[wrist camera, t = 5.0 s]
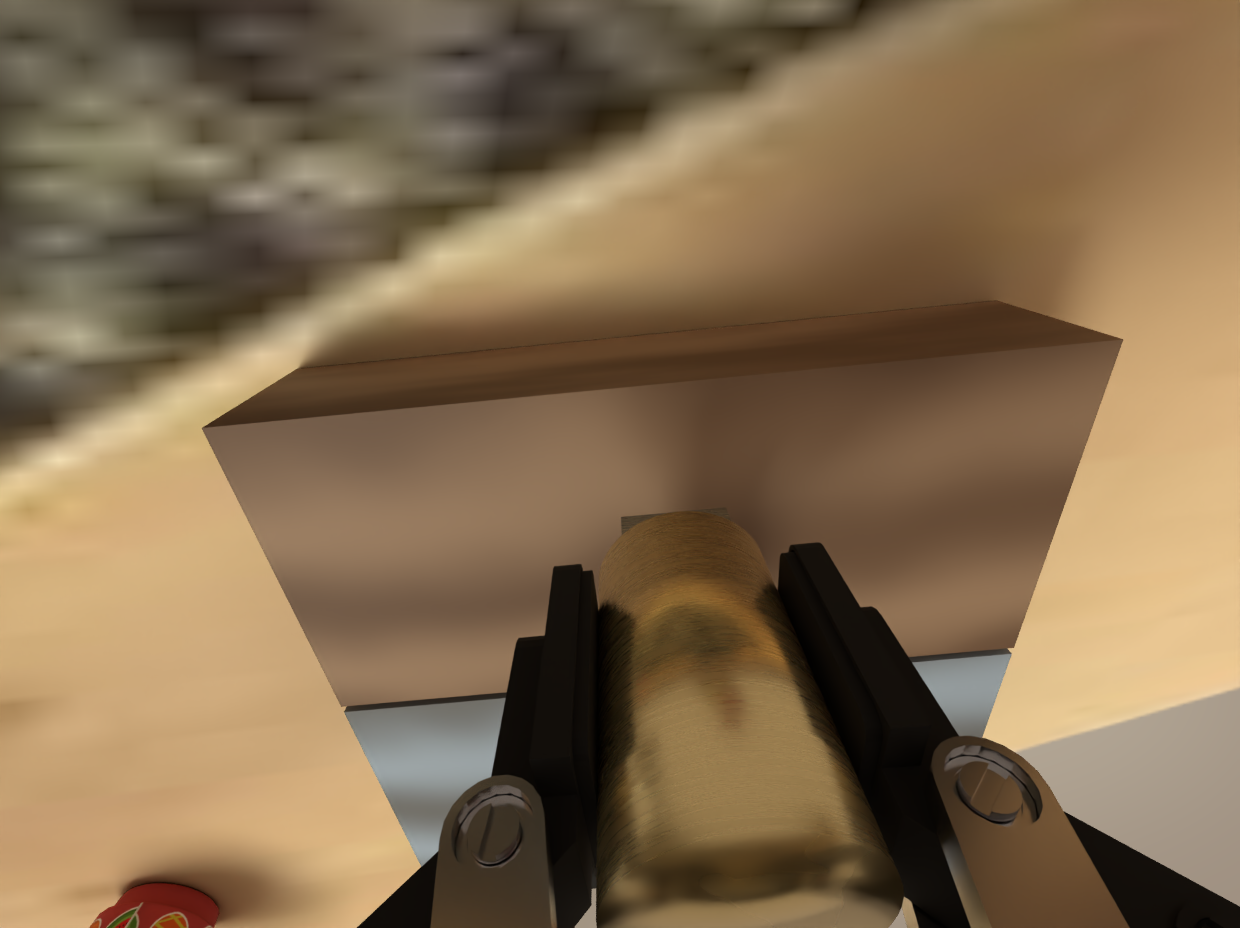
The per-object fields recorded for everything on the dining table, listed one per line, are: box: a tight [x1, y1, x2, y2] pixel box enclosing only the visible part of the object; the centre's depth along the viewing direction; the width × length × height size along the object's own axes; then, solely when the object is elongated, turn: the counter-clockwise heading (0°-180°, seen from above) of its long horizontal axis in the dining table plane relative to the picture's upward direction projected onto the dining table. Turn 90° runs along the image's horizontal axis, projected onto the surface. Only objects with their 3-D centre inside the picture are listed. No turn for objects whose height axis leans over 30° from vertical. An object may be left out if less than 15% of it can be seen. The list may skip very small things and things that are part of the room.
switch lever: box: [596, 507, 904, 928], centre depth 11 cm, size 11×4×7 cm, turn 5°
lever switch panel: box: [202, 301, 1123, 867], centre depth 20 cm, size 22×24×9 cm
